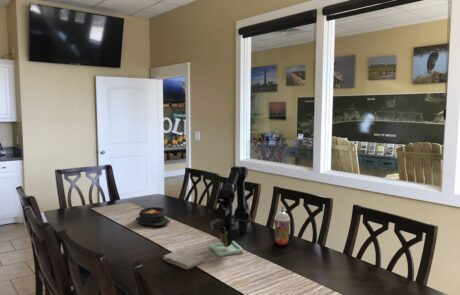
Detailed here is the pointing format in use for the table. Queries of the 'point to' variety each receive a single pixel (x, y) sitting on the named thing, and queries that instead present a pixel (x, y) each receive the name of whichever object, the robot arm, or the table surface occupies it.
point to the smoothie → (282, 228)
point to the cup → (223, 238)
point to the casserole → (152, 216)
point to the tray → (226, 249)
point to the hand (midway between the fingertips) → (226, 243)
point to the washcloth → (183, 259)
